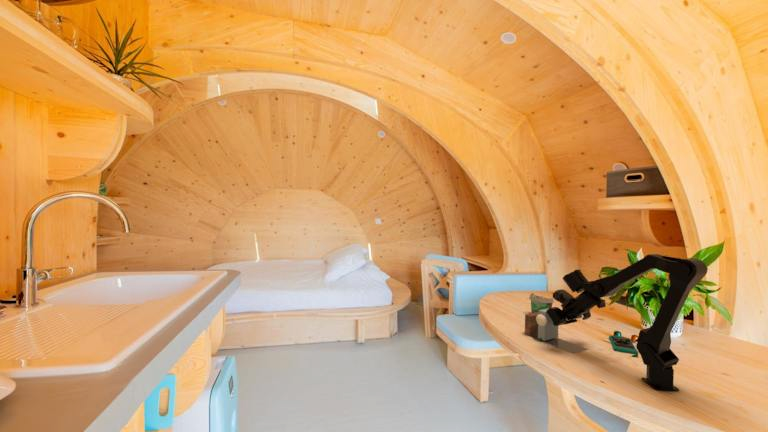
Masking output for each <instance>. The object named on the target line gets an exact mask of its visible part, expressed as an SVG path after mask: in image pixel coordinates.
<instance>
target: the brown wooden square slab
mask: <svg viewBox="0 0 768 432" xmlns="http://www.w3.org/2000/svg"><path fill="white" fill-rule="evenodd" d="M537 315H538V312H536V313H532V312H531V313H526V314H524V333H525V334H526V335H525V336H527V335H529V336H532V335H536V334H538V323H537V321H536V317H537ZM529 336H528V337H529Z"/></svg>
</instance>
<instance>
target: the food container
mask: <svg viewBox="0 0 768 432" xmlns="http://www.w3.org/2000/svg"><path fill="white" fill-rule="evenodd" d="M528 299H529V300H530V311H531V313H536V312H538V310H543V309H548V308H552V307H553V304H554V303H555V302H554V298H553V297H552V298H547V297H545V296H540V295H539V296H538V295H536V294H534V292H532V293H530V294H529V297H528Z"/></svg>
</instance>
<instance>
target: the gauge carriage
mask: <svg viewBox="0 0 768 432" xmlns="http://www.w3.org/2000/svg"><path fill="white" fill-rule="evenodd" d="M548 309H549V308H548ZM548 309H543V310H538V315H537V317H536V321H537V323H538V339H537V340H544V341H546V340H550V339H554V338H559V326H554V324H553V321H552V320H551V318H550V317H549V315H548V314H547V312H546V310H548Z"/></svg>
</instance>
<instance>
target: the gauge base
mask: <svg viewBox="0 0 768 432" xmlns="http://www.w3.org/2000/svg"><path fill="white" fill-rule="evenodd" d="M521 334H522V335H525V336H527V337H530V338H532V340H534V341H536V342H538V343H539V342H540V343H542V344H543V345H546V346H549V347H551V348H557V349H560V350H562V351H564V352H566V353H569V354H572V355H574V354H577V353H581V352H584V351H588V350H589V349H588V348H587V347H584V346H581V345H578V344H575V343H572V342H571V341H570V342H569V341H567V340H564V339H562V338H559V337H558V338H554V339H550V340H546V341H544V340H537V339H538V334H536V335H532V336H529V335H526V334H525V332H522V333H521Z"/></svg>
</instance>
